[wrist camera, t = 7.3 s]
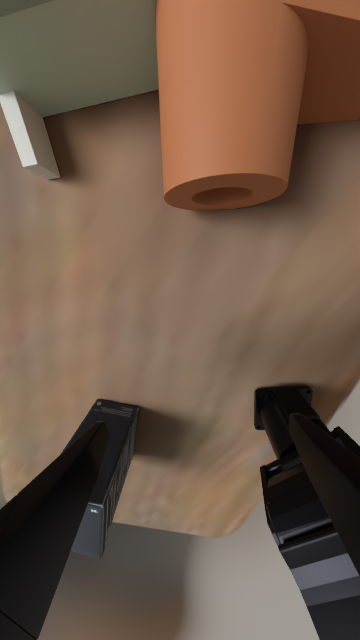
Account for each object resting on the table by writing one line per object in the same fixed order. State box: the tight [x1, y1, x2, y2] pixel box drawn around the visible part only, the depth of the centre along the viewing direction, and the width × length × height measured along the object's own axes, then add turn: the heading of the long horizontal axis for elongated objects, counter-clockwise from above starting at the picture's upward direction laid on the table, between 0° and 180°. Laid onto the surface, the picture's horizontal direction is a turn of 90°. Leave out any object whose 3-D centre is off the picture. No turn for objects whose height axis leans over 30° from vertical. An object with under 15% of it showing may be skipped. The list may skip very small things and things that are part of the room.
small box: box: [61, 399, 139, 558], centre depth 21 cm, size 11×6×10 cm, turn 170°
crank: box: [155, 0, 360, 210], centre depth 10 cm, size 20×8×8 cm, turn 91°
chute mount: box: [0, 0, 159, 180], centre depth 10 cm, size 7×32×7 cm, turn 97°
